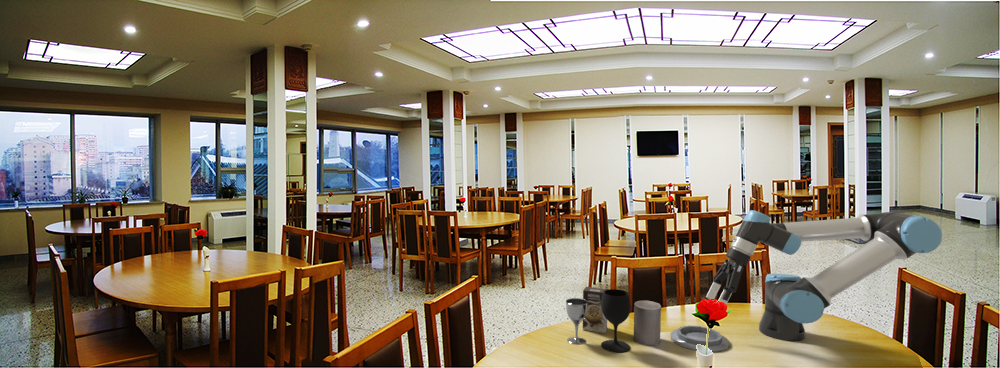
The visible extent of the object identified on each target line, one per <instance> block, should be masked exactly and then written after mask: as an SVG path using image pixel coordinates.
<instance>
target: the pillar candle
mask: <svg viewBox="0 0 1000 368" xmlns="http://www.w3.org/2000/svg"><path fill="white" fill-rule="evenodd" d="M633 306H634V307H633V340H634V341H635V342H636V343H638V344H640V345H644V346H656V345H660V342H661V325H662V324H661V323H662V320H661V319H662V318H661V317H662V312H661V311H662V305H661V304H660V303H658V302H655V301H650V300H638V301H635V302H634V305H633Z"/></svg>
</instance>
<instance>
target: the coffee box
mask: <svg viewBox="0 0 1000 368" xmlns="http://www.w3.org/2000/svg"><path fill="white" fill-rule="evenodd" d="M605 290H608V288H601V287H592V286H585V288H584V289H582V299H584V300H586V301H587V303H588V306H587V314H586V317H585V319H583V320H582V331H588V332H595V333H603V334H605V333H606V332H607V329H608V320H607V319H606V318H605V316H604V315H603V313H602V309H601V300H602V295H603V292H604V291H605Z"/></svg>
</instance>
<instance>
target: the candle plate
mask: <svg viewBox="0 0 1000 368" xmlns="http://www.w3.org/2000/svg"><path fill="white" fill-rule="evenodd" d="M707 328H708V327H705V326H700V325H691V324H690V325H689V324H688V325H683V326H680V327H679V328H677V329H674V330H672V331H670V340H671V341H672V342H673V343H674V344H675V345H678V346H680V347H681V348H683V349H684V348H685V349H688V350H691V351H696V352H698V351H697V349H696V345H697V344H701V345H704V346H705V345H706V334H707ZM708 348H709V349H710V350H712V352H711V353H719V352H723V351H726V350H728V348H730V341H729V339H728V338H727V337H726V336H724V335H722V334H721V333H720V332H719V331H717V330H715V329H713V328H710V331H709V338H708Z"/></svg>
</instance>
